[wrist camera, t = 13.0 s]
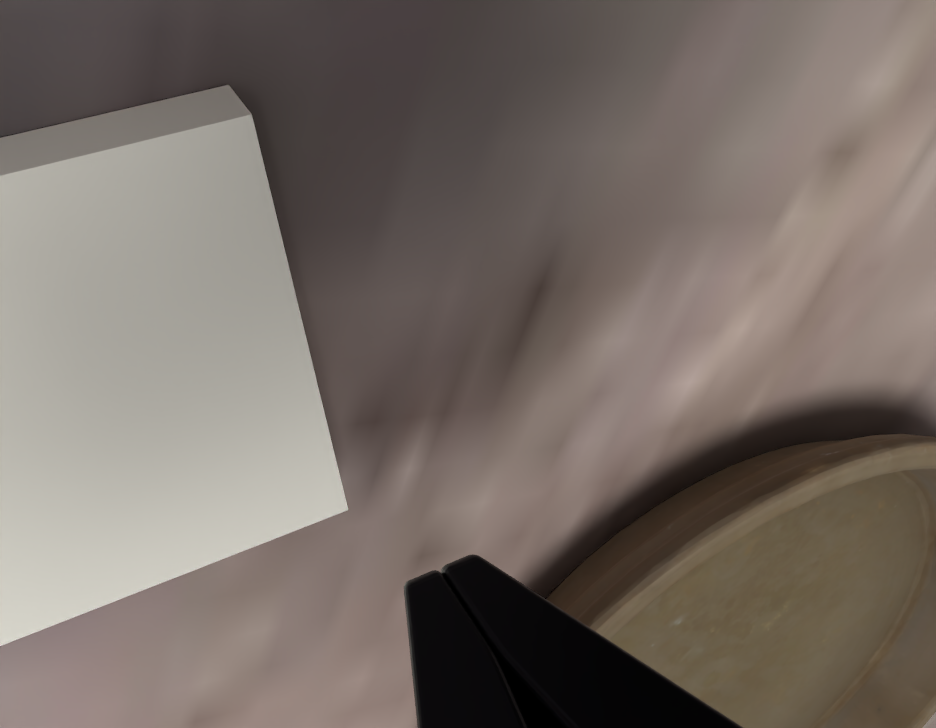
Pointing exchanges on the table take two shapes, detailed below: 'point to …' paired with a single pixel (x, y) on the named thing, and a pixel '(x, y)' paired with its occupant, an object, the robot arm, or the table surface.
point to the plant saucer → (784, 586)
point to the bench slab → (147, 359)
